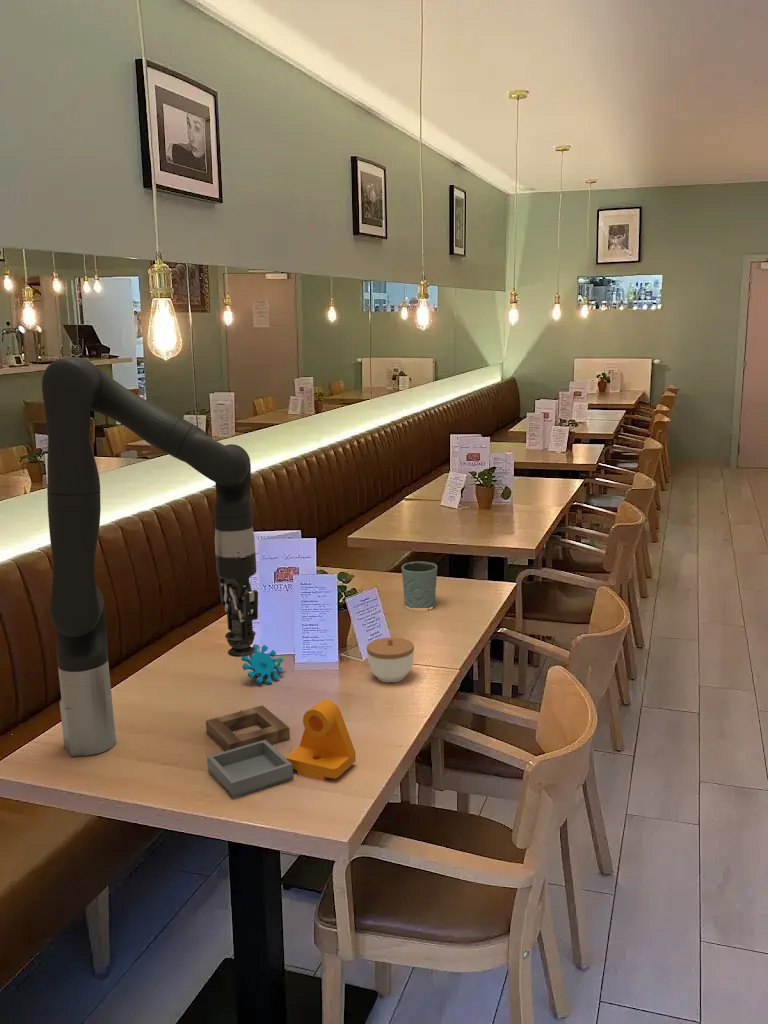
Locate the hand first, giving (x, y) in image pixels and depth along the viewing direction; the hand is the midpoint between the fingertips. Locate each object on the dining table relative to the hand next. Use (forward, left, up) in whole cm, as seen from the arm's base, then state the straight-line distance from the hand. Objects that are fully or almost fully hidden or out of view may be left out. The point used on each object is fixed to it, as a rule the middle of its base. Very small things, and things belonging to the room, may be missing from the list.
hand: (240, 634), depth 173 cm
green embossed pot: (+73, +46, -22) cm, 89 cm away
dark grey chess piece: (0, 0, -4) cm, 4 cm away
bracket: (+6, -20, -22) cm, 30 cm away
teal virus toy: (+15, +25, -22) cm, 36 cm away
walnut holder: (0, 0, -21) cm, 21 cm away
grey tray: (-6, -15, -21) cm, 27 cm away
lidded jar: (+39, +8, -22) cm, 45 cm away
